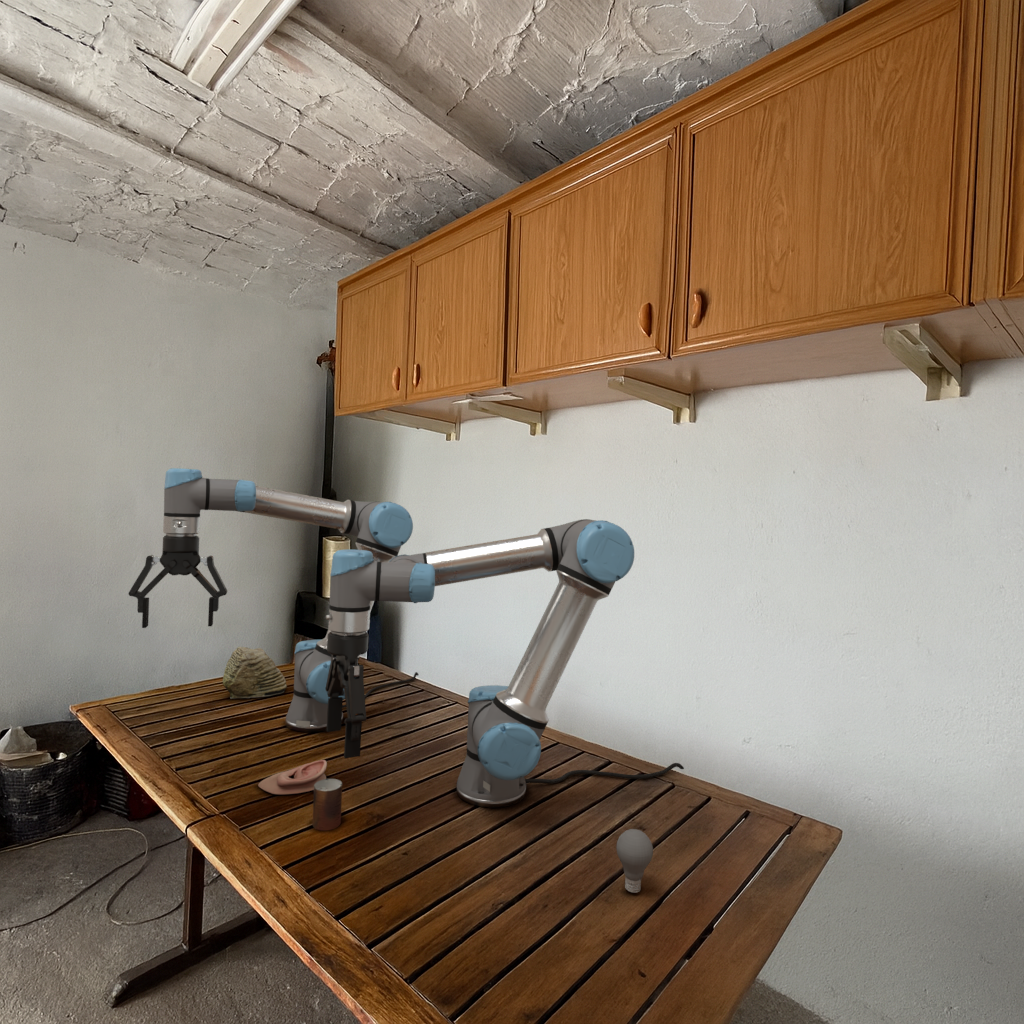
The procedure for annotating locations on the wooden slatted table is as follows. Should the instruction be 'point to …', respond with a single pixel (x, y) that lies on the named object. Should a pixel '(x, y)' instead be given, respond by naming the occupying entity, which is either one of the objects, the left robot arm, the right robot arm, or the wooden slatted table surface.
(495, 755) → the right robot arm
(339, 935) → the wooden slatted table surface
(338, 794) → the tin
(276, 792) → the anatomical model
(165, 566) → the left robot arm
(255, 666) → the fossil
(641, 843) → the light bulb
